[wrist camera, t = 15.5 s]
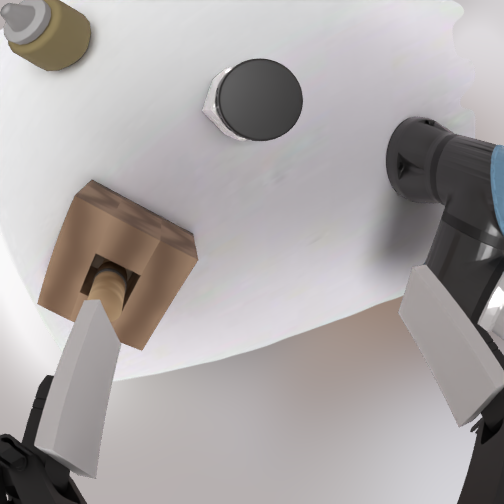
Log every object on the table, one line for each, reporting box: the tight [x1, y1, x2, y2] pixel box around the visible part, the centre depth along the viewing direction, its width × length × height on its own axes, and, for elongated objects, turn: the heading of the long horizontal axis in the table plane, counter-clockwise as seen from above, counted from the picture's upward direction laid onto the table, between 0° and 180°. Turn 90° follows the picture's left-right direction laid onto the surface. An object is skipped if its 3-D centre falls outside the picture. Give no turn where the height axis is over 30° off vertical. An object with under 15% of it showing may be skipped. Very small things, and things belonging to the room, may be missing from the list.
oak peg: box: [87, 258, 127, 322], centre depth 34 cm, size 4×4×12 cm
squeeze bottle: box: [0, 0, 91, 71], centre depth 18 cm, size 8×8×18 cm
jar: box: [202, 59, 303, 141], centre depth 30 cm, size 9×8×12 cm
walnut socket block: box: [38, 180, 198, 350], centre depth 37 cm, size 16×16×8 cm
